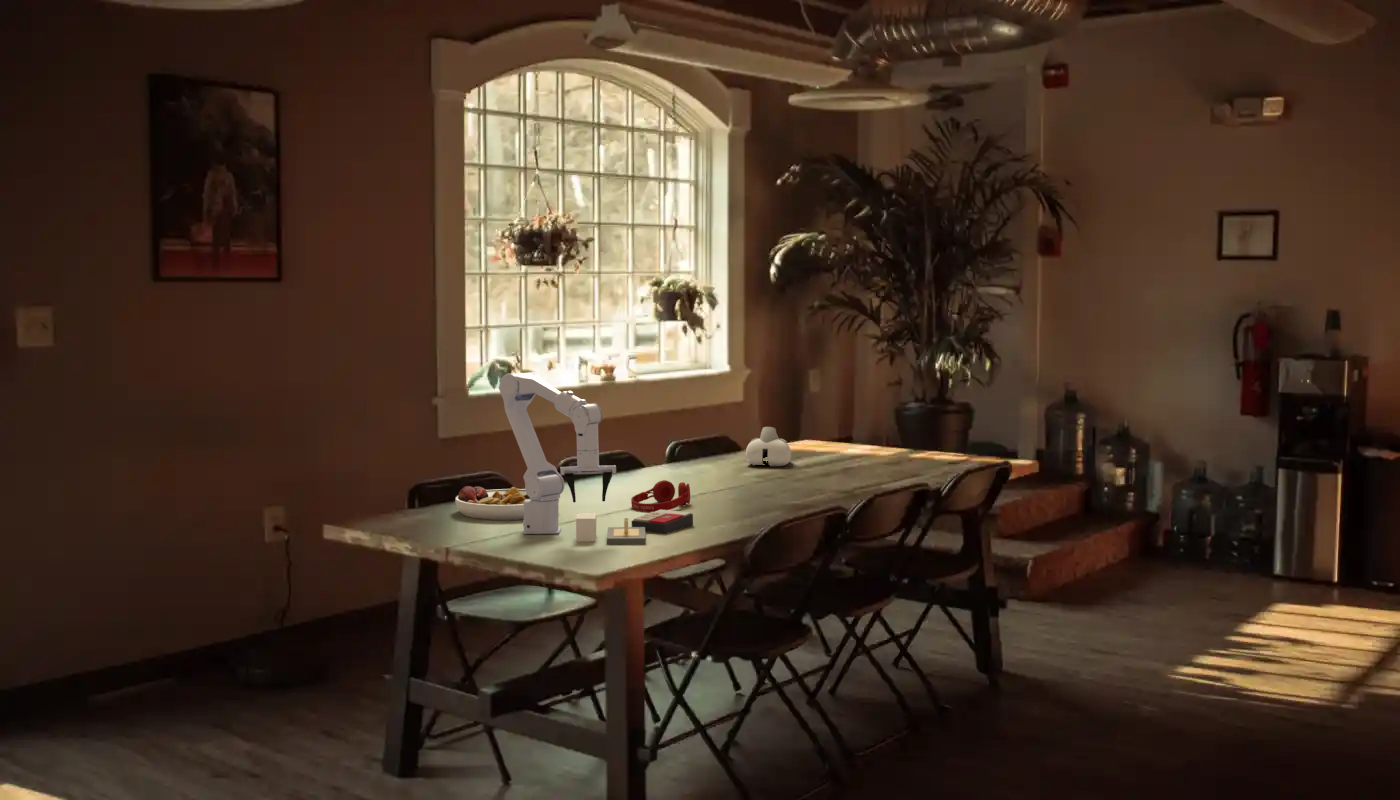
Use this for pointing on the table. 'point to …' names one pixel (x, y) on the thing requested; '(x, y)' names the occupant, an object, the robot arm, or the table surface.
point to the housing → (586, 527)
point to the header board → (626, 534)
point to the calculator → (664, 521)
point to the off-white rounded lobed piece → (768, 449)
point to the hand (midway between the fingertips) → (589, 501)
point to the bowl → (492, 503)
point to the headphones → (662, 497)
